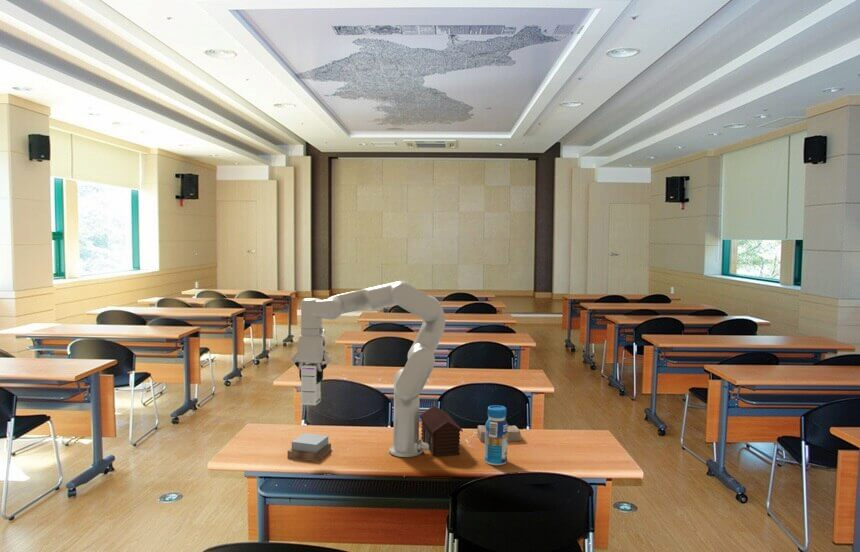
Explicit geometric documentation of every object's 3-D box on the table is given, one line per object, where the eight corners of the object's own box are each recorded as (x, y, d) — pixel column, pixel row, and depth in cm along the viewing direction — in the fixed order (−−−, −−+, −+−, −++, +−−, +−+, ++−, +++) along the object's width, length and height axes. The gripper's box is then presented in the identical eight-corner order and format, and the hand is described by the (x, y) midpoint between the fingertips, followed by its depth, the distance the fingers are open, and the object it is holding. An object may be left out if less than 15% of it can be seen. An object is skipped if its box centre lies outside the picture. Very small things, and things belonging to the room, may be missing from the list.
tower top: (328, 443, 231) (328, 436, 231) (316, 452, 222) (316, 444, 222) (304, 440, 234) (304, 433, 234) (291, 449, 224) (291, 441, 224)
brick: (515, 434, 253) (516, 423, 253) (521, 441, 245) (521, 430, 244) (476, 436, 251) (476, 425, 251) (480, 443, 243) (481, 431, 242)
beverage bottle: (479, 459, 225) (481, 405, 223) (499, 456, 228) (501, 403, 227) (491, 467, 217) (492, 412, 216) (511, 464, 221) (513, 409, 219)
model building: (419, 439, 246) (419, 402, 244) (447, 437, 248) (447, 400, 247) (432, 457, 226) (432, 417, 224) (462, 455, 228) (463, 416, 227)
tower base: (331, 450, 232) (331, 443, 232) (318, 462, 221) (318, 454, 220) (301, 447, 235) (301, 440, 235) (287, 459, 223) (287, 451, 223)
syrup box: (316, 405, 223) (316, 366, 222) (300, 404, 224) (300, 365, 223) (321, 401, 228) (321, 363, 227) (306, 400, 229) (306, 362, 228)
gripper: (337, 331, 226) (337, 379, 227) (294, 329, 230) (293, 376, 231) (329, 335, 219) (329, 384, 220) (285, 332, 222) (284, 381, 224)
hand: (311, 380), depth 225 cm, fingers closed on syrup box, 5 cm apart
